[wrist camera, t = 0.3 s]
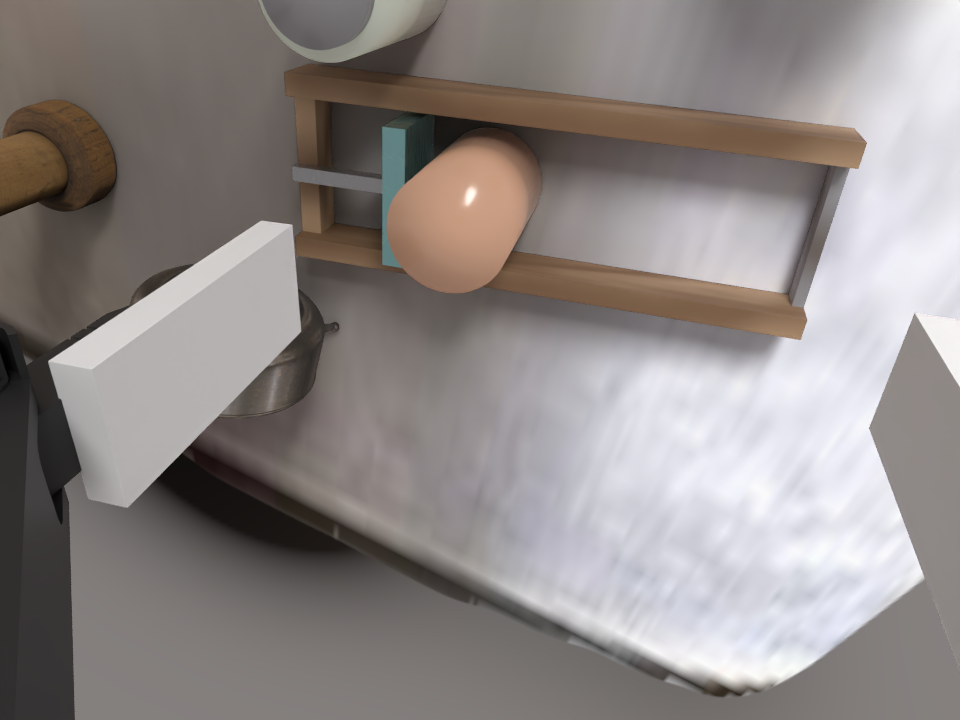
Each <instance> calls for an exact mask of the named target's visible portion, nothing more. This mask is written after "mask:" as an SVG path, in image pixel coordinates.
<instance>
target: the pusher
mask: <svg viewBox="0 0 960 720" xmlns="http://www.w3.org/2000/svg"><path fill="white" fill-rule="evenodd" d="M434 124H435V115H432V114H424V113H416V112H409V111H407V112H405V113H403V114H402V115H400V116H399V117H397V118H395V119H394V120H392V121H391V122H389V123H387V124H386V125H384V126H382V175H380V174H374V173H367V172H360V171H353V170H346V169H339V168H332V167H325V166H318V165H311V164H304V163H297V164H295V165H293V166H292V177H293V181H299V182H306V183H312V184H319V185H326V186H332V187H339V188H346V189H353V190H359V191H366V192H373V193H379V194H382V265H387V266H393V267H399V268H402V267H401V266H400V264H399V263H398V261H397V260H396V258H395V256H394V254H393V252H392V250H391V247H390V244H389V241H388V236H387V215H388V211H389V208H390V205H391V202H392V200H393V199H394V197H395V195H396V194H397V192H398V191H399V190H400V189H401V188H402V187H403V186H404V185H405V184H406V183H407V182H408V181H409V180H410V179H412V178H413V177H414V176H415V175H416V174H417V173H418V172H420V171H421V170H422V169H423V168H424V167H425V166H427V165H428V164H429V163H430V162H431V161H432V160H433V152H434Z"/></svg>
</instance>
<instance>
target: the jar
mask: <svg viewBox="0 0 960 720" xmlns="http://www.w3.org/2000/svg"><path fill="white" fill-rule="evenodd" d="M258 1H259V4H260V7H261V9H262V11H263V14H264V16H265V18H266V20H267V21H268V23H269V25H270V26H271V28H272V29H273V31H274V32H275V33H276V35H277V36H278V37H279V38H280V39H281V40H282V41H283V42H284V43H285V44H286V45H287V46H288V47H290V48H291V49H292V50H294V51H295V52H297V53H298V54H300V55H302V56H304V57H306V58H308V59H311V60H314V61H319V62H325V63H335V62H342V61H346V60H349V59H352V58H355V57H357V56H360V55H363V54H366V53H368V52H371V51H374V50H377V49H380V48H382V47H385V46H388V45H391V44H393V43H396V42H399V41H402V40H405V39H407V38H410V37H413V36H415V35H418V34H420V33H422V32H423V31H425V30H426V29H428V28H429V27H430V26H431V25H432V24H433V23H434V22H435V21H436V20H437V18H438V17H439V15H440V14H441V12H442V10H443V8H444V6H445V3H446V0H258Z"/></svg>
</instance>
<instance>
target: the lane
mask: <svg viewBox="0 0 960 720" xmlns="http://www.w3.org/2000/svg"><path fill="white" fill-rule="evenodd" d="M284 78H285V93H286V96H291V97H294V98H295V115H296V131H297V148H298V163H304V164H311V165H318V166H325V167H332V168H333V166H332V139H331V111H330V102H338V103H346V104H354V105H362V106H369V107H377V108H385V109H393V110H401V111H409V112H416V113H424V114H432V115H440V116H448V117H456V118H463V119H471V120H479V121H487V122H495V123H503V124H510V125H518V126H526V127H534V128H542V129H550V130H558V131H565V132H573V133H581V134H589V135H597V136H605V137H612V138H620V139H628V140H636V141H644V142H652V143H659V144H667V145H675V146H683V147H691V148H699V149H706V150H714V151H722V152H730V153H738V154H746V155H754V156H761V157H769V158H777V159H785V160H793V161H801V162H808V163H816V164H824V165H829V169H828V172H827V175H826V178H825V181H824V184H823V188H822V191H821V194H820V197H819V200H818V203H817V207H816V210H815V213H814V216H813V219H812V222H811V226H810V229H809V232H808V235H807V238H806V241H805V245H804V248H803V251H802V254H801V257H800V260H799V264H798V267H797V270H796V273H795V276H794V279H793V282H792V286H791V289H790V292H789V295H788V294H782V293H775V292H769V291H763V290H756V289H750V288H744V287H737V286H731V285H725V284H718V283H712V282H706V281H699V280H693V279H687V278H680V277H674V276H668V275H661V274H655V273H649V272H642V271H636V270H630V269H623V268H617V267H611V266H604V265H598V264H592V263H585V262H579V261H573V260H566V259H560V258H554V257H547V256H541V255H535V254H528V253H522V252H516V251H511V252H510V254H509V256H508V258H507V260H506V261H505V263H504V265H503V267H502V268H501V270H500V271H499V273H498V274H497V275H496V276H495V277H494V278H493V279H492V280H491V281H490V282H489V283H487V284H486V285H484V286H482V287H488V288H494V289H500V290H506V291H512V292H518V293H524V294H530V295H536V296H542V297H548V298H553V299H559V300H565V301H571V302H577V303H583V304H589V305H595V306H601V307H607V308H613V309H619V310H625V311H631V312H637V313H643V314H649V315H655V316H661V317H667V318H673V319H679V320H685V321H691V322H697V323H703V324H708V325H714V326H720V327H726V328H732V329H738V330H744V331H750V332H756V333H762V334H768V335H774V336H780V337H786V338H792V339H798V340H801V337H802V334H803V331H804V328H805V325H806V322H807V318H806V314H805V311H804V305H805V302H806V299H807V296H808V292H809V289H810V286H811V283H812V280H813V277H814V274H815V271H816V268H817V265H818V262H819V259H820V256H821V253H822V250H823V247H824V244H825V241H826V238H827V235H828V232H829V229H830V226H831V223H832V220H833V217H834V214H835V211H836V208H837V205H838V202H839V199H840V196H841V193H842V190H843V187H844V184H845V181H846V178H847V175H848V172H849V169H850V168H855V169H858V168H859V165H860V162H861V159H862V156H863V153H864V150H865V147H866V144H867V143H866V141H865V140H864V139H863V138H862V137H861V136H860V134H859V133H858V132H857V131H856V130H855V129H853V128H845V127H837V126H828V125H820V124H811V123H803V122H794V121H786V120H778V119H769V118H761V117H752V116H744V115H736V114H727V113H719V112H710V111H702V110H693V109H685V108H677V107H668V106H660V105H651V104H643V103H634V102H626V101H618V100H609V99H601V98H592V97H584V96H575V95H567V94H559V93H550V92H542V91H533V90H525V89H516V88H508V87H500V86H491V85H483V84H474V83H466V82H458V81H449V80H441V79H432V78H424V77H415V76H407V75H399V74H390V73H382V72H373V71H365V70H356V69H348V68H340V67H331V66H323V65H314V64H307V65H304V66H301V67H298V68H295V69H292V70H289V71H286V72H284ZM300 198H301V214H302V232H300V233H299V234H298V235H296V236H295V244H296V255H297V256H303V257H309V258H315V259H321V260H327V261H333V262H339V263H345V264H351V265H357V266H363V267H369V268H375V269H381V270H387V271H393V272H398V273H404V274H407V272H406V271H405V270H404V269H403V268H399V267H393V266H387V265H382V230H376V229H370V228H364V227H358V226H351V225H345V224H339V223H335V221H334V194H333V187H332V186H326V185H319V184H312V183H306V182H300Z"/></svg>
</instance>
